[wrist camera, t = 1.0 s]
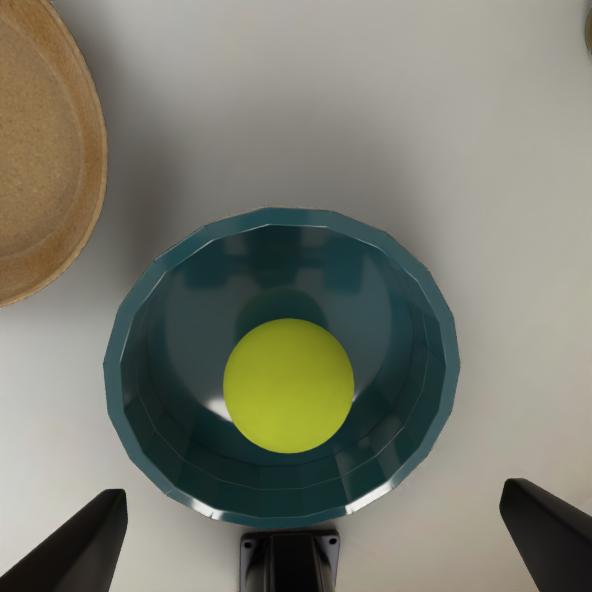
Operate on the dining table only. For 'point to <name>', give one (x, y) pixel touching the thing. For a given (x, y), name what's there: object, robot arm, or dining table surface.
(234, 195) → the dining table surface
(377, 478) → the glazed bowl
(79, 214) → the plant saucer
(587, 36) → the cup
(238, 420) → the ball
